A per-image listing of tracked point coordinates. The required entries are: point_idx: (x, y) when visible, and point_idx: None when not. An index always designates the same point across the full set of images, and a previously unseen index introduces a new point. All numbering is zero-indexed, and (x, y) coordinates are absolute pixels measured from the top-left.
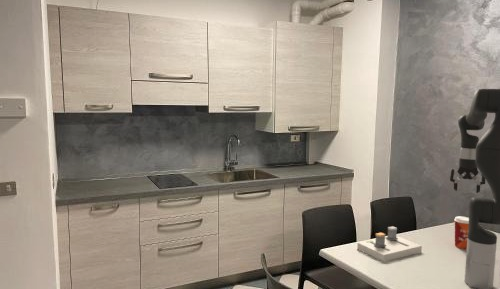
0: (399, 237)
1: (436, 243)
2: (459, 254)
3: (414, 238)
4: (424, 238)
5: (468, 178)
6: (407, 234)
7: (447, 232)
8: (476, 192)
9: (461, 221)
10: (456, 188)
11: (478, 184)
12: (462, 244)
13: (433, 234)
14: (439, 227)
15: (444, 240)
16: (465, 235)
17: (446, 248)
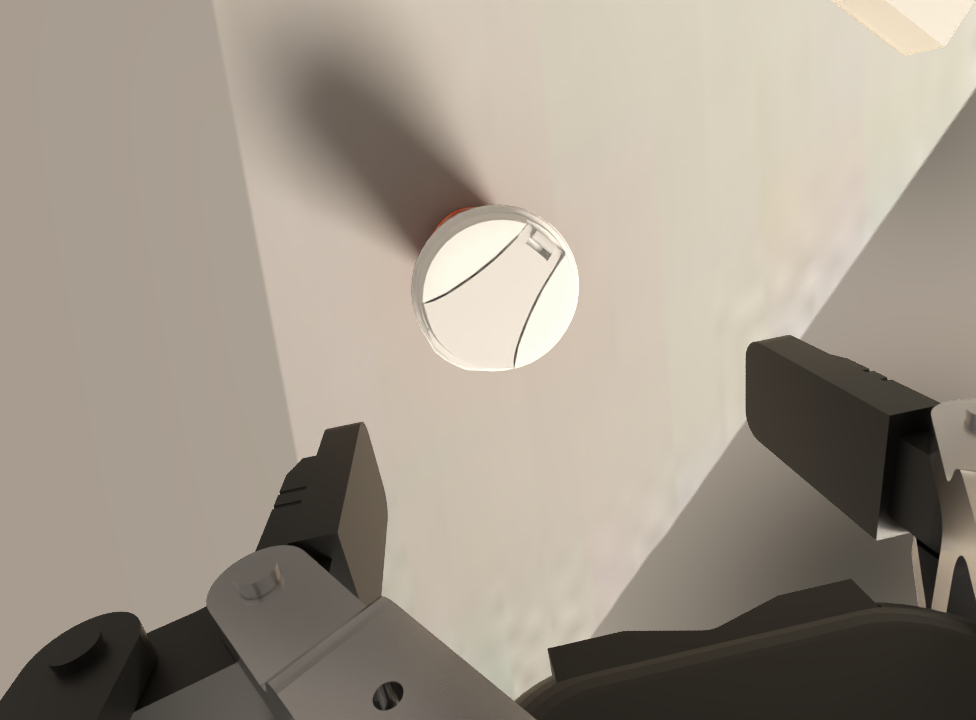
0: (906, 4)
1: (626, 204)
2: (461, 56)
3: (768, 214)
4: (706, 260)
5: (684, 652)
6: (815, 271)
7: (582, 482)
8: (359, 422)
9: (507, 215)
10: (799, 352)
11: (283, 561)
12: (464, 208)
13: (658, 385)
14: (634, 545)
15: (584, 307)
16: (453, 216)
17: (555, 136)
